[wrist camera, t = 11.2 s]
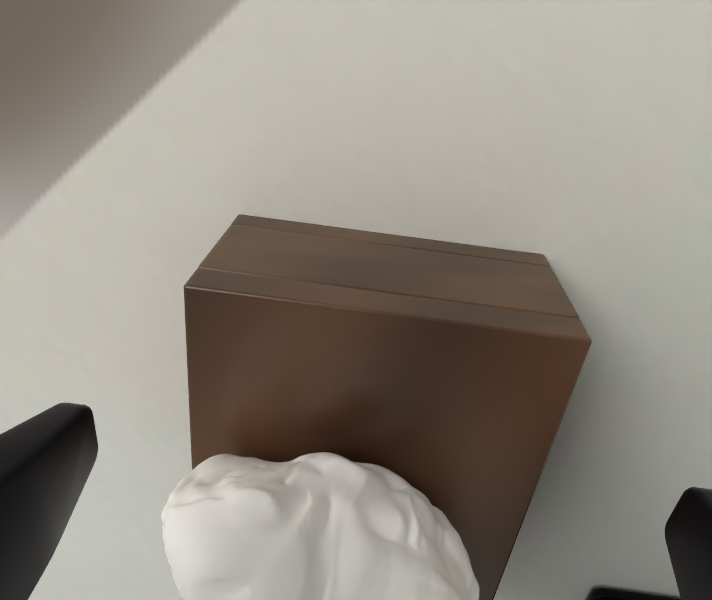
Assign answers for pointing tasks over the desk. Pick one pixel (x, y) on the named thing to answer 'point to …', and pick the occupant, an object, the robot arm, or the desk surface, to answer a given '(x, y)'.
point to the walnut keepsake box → (386, 364)
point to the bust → (309, 534)
